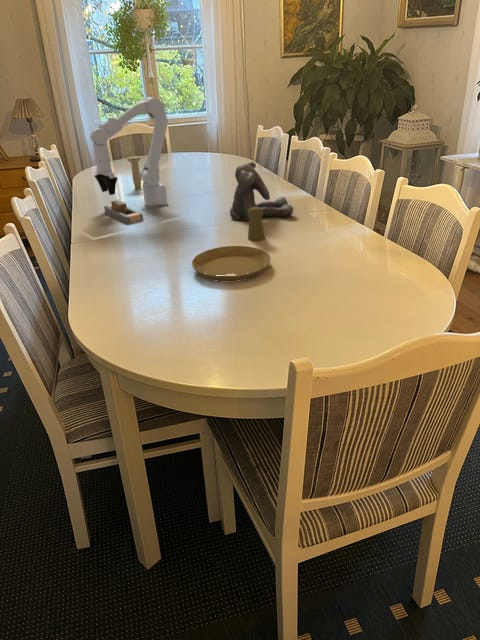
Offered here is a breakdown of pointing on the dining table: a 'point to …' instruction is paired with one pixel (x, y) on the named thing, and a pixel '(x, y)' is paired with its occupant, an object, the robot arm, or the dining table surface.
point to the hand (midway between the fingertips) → (108, 192)
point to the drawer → (119, 206)
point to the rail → (130, 218)
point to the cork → (255, 224)
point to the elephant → (246, 200)
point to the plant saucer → (231, 263)
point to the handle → (135, 170)
